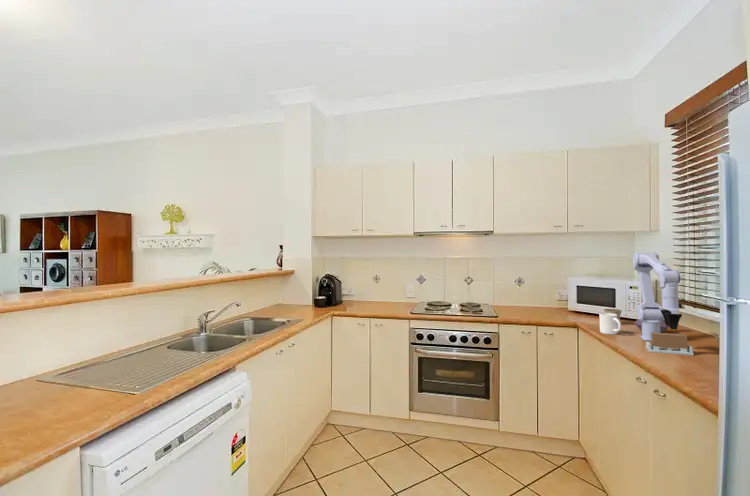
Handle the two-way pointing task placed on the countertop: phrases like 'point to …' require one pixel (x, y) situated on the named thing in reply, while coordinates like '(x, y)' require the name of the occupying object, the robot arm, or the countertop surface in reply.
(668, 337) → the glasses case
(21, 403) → the countertop surface
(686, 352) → the display stand
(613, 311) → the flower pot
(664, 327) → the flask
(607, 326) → the mug
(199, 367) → the countertop surface
